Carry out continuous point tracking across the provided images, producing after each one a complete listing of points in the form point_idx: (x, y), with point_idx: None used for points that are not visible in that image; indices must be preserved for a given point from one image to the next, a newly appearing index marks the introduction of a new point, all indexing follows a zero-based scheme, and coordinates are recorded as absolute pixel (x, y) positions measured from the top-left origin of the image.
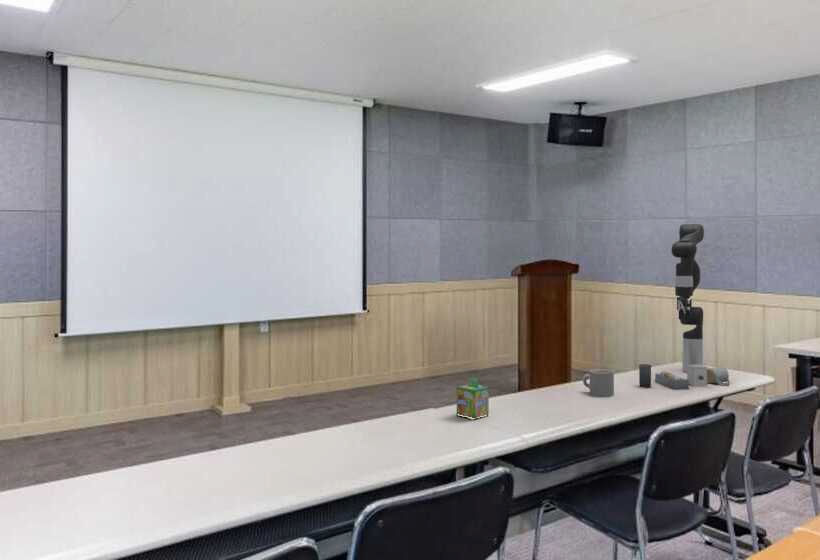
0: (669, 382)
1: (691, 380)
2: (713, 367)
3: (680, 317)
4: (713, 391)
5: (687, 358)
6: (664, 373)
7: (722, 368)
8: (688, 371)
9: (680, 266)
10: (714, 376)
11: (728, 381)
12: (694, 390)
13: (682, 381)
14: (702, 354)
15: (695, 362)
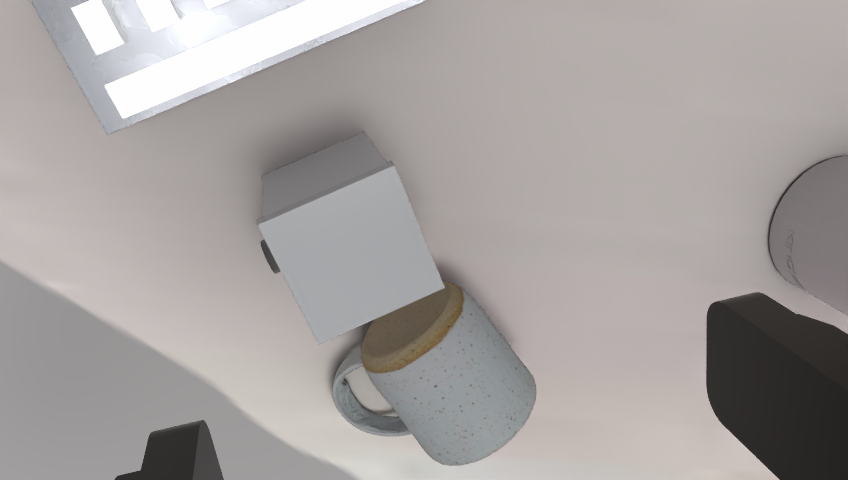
0: None
1: (303, 169)
2: (473, 385)
3: (742, 358)
4: (87, 297)
5: None
6: None
7: (451, 445)
8: (358, 166)
9: None
10: (364, 356)
11: (387, 425)
12: (77, 159)
13: (73, 71)
14: None
15: (828, 267)
